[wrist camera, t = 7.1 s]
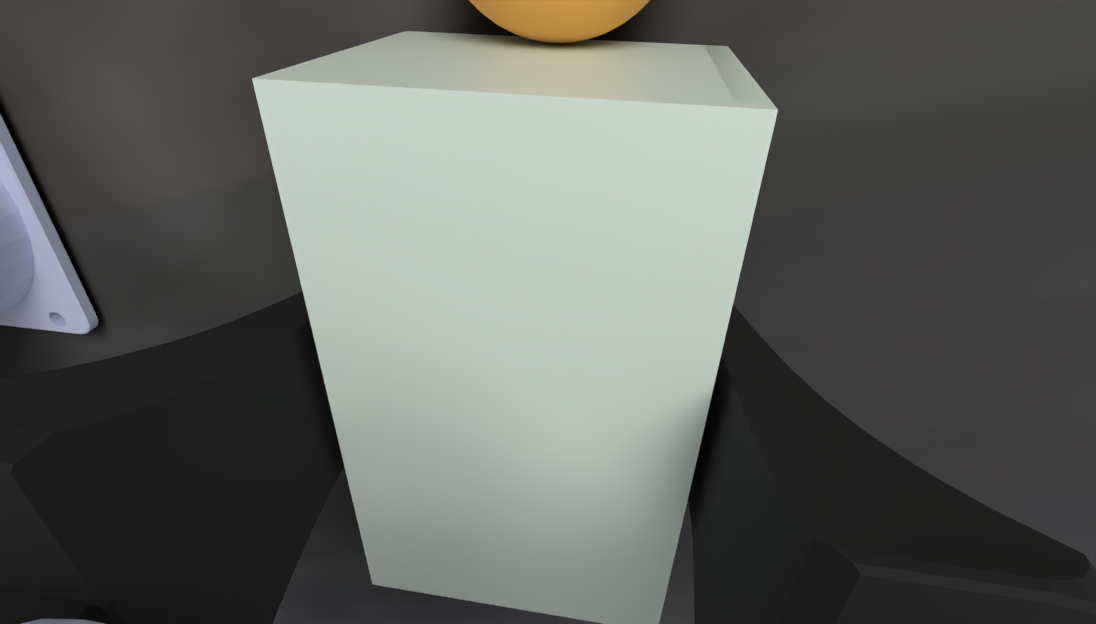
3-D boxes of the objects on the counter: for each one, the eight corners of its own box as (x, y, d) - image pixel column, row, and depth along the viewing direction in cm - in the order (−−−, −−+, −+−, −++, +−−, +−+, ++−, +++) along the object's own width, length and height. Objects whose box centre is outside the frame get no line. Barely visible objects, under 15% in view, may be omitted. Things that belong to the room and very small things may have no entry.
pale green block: (444, 424, 16) (372, 584, 12) (405, 31, 11) (252, 79, 7) (656, 451, 15) (656, 632, 11) (727, 46, 10) (778, 109, 6)
